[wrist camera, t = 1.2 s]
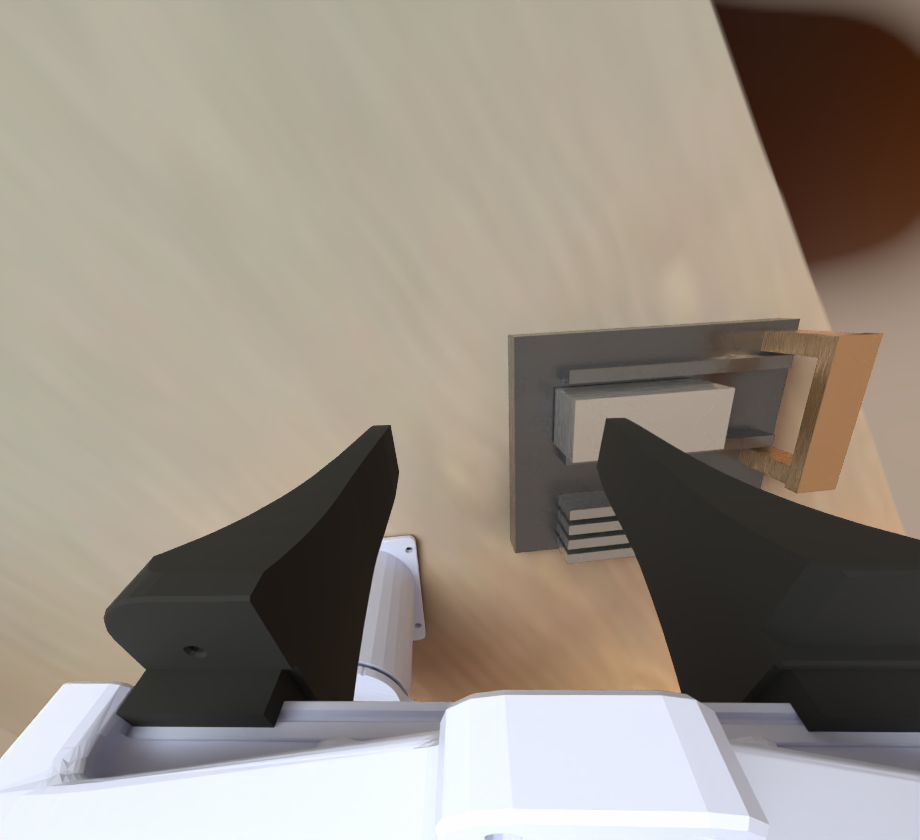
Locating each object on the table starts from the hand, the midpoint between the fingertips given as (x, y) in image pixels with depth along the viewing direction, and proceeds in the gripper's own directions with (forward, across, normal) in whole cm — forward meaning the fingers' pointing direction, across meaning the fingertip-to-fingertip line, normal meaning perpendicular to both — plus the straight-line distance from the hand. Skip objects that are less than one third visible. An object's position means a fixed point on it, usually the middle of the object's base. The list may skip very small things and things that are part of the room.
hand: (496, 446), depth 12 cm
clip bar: (+10, -9, +4) cm, 14 cm away
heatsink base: (+11, -10, +7) cm, 17 cm away
